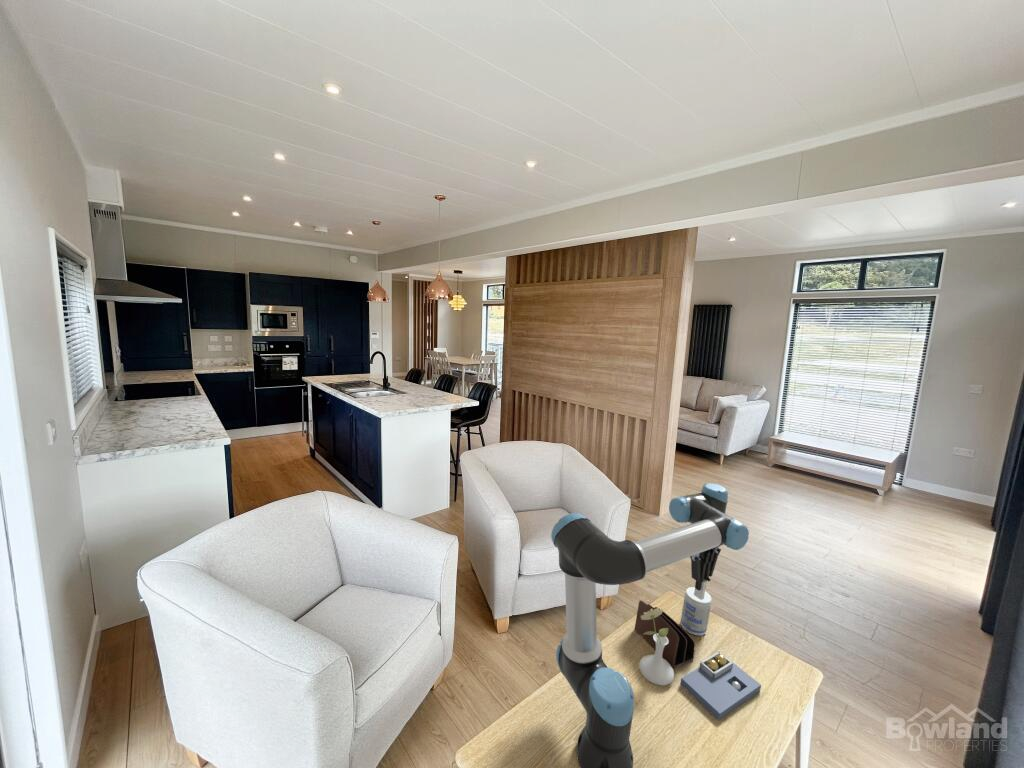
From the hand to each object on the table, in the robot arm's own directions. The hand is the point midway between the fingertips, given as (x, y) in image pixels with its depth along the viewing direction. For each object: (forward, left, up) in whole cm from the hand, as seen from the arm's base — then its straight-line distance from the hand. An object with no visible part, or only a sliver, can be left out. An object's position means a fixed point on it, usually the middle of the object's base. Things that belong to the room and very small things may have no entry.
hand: (698, 596), depth 139 cm
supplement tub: (+20, +13, -30) cm, 38 cm away
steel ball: (+8, -12, -28) cm, 31 cm away
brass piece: (+6, -5, -25) cm, 26 cm away
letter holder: (+2, +13, -30) cm, 32 cm away
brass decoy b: (+11, -5, -25) cm, 28 cm away
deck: (+5, -9, -29) cm, 31 cm away
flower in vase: (-11, +5, -30) cm, 32 cm away
